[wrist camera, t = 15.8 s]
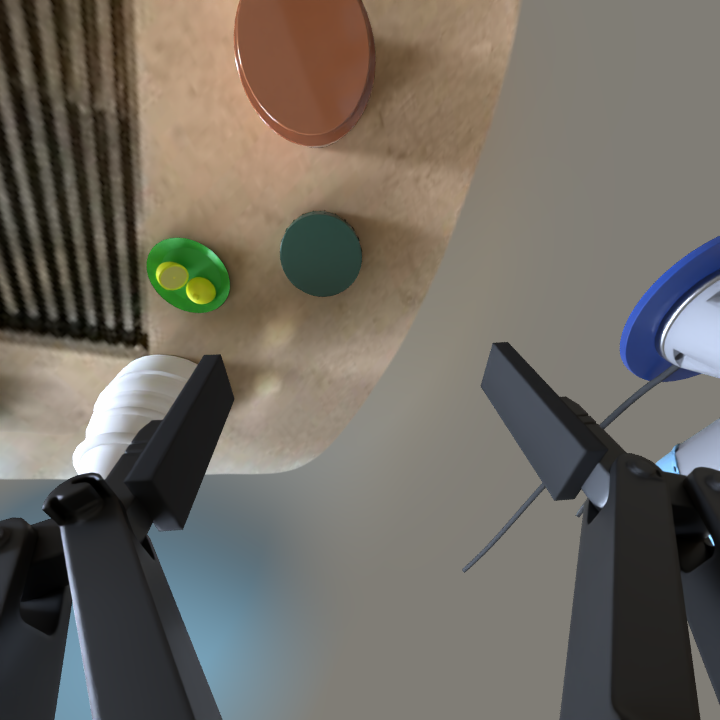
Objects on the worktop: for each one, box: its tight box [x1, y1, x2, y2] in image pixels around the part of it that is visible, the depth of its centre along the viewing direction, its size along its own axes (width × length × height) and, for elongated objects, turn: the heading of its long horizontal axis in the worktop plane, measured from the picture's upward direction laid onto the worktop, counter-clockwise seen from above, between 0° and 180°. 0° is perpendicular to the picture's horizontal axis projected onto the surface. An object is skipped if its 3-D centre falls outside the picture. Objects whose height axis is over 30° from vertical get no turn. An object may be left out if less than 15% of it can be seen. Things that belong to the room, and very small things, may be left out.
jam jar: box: [234, 0, 376, 148], centre depth 20 cm, size 8×8×12 cm
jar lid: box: [280, 211, 362, 297], centre depth 31 cm, size 8×8×2 cm
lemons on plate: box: [147, 238, 230, 313], centre depth 31 cm, size 8×8×3 cm
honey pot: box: [73, 355, 198, 480], centre depth 33 cm, size 13×13×18 cm
